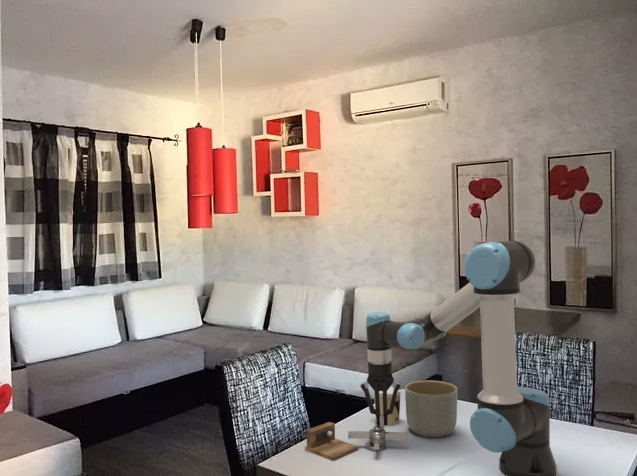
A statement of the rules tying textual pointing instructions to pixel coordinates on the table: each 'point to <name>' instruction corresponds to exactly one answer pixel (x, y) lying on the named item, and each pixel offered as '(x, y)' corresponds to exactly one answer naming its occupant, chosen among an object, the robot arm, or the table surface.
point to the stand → (327, 442)
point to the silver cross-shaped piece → (377, 437)
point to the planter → (431, 408)
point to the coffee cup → (393, 417)
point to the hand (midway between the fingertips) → (382, 435)
